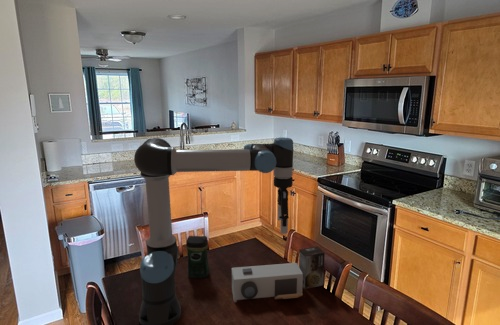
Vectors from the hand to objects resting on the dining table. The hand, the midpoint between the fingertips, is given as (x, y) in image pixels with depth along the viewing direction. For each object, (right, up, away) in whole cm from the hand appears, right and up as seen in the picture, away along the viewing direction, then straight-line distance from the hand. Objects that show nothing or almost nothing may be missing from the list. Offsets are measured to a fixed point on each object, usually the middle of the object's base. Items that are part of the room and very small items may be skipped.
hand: (282, 226), depth 137 cm
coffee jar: (-37, -25, +15) cm, 47 cm away
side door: (+1, -28, -3) cm, 28 cm away
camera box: (-7, -28, +1) cm, 29 cm away
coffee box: (+13, -27, +7) cm, 30 cm away
